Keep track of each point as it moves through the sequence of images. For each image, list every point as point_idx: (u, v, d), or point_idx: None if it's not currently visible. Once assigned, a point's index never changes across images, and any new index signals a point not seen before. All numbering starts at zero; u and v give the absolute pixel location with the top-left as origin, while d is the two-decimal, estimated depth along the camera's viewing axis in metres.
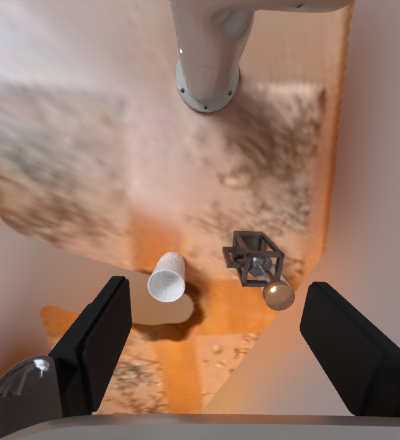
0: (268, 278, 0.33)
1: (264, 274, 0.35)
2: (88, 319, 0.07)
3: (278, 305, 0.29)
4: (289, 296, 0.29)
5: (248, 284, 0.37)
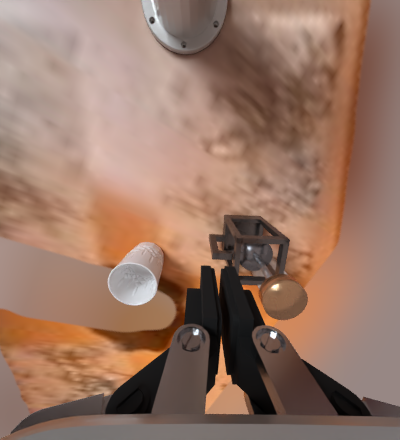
0: (267, 272, 0.23)
1: (262, 267, 0.25)
2: (209, 298, 0.08)
3: (282, 312, 0.19)
4: (299, 298, 0.19)
5: (240, 281, 0.28)
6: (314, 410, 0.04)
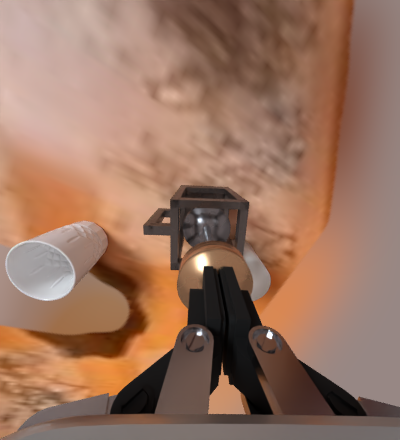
0: None
1: (205, 240, 0.17)
2: (212, 298, 0.08)
3: None
4: (239, 279, 0.11)
5: None
6: (309, 411, 0.04)
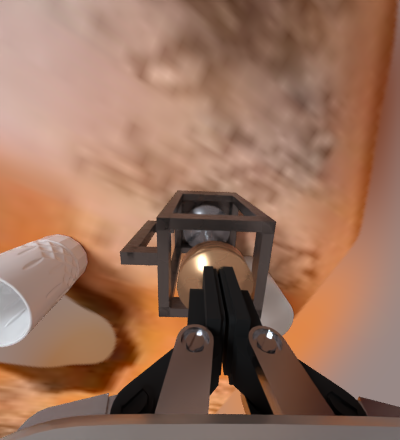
0: None
1: (205, 241, 0.17)
2: (212, 298, 0.08)
3: None
4: (239, 280, 0.11)
5: (175, 311, 0.13)
6: (309, 411, 0.04)
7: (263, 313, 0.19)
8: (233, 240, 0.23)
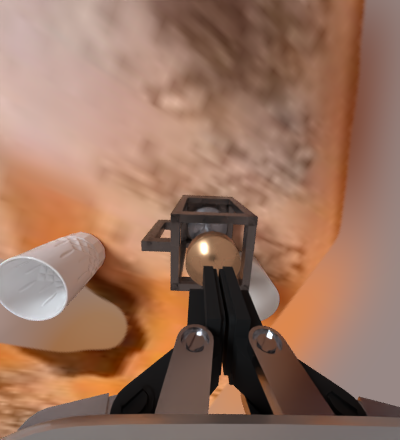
0: None
1: None
2: (212, 298, 0.08)
3: None
4: (230, 258, 0.15)
5: (183, 286, 0.17)
6: (309, 411, 0.04)
7: (254, 296, 0.23)
8: (230, 237, 0.27)
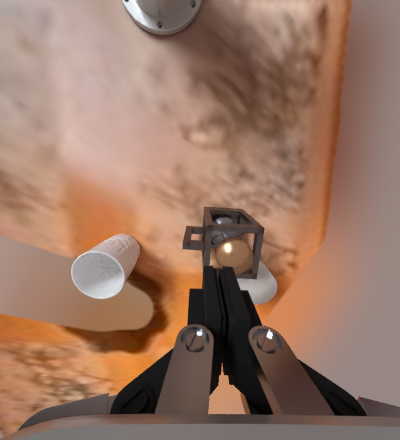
0: None
1: (225, 238, 0.29)
2: (212, 298, 0.08)
3: (233, 267, 0.23)
4: (246, 255, 0.23)
5: None
6: (309, 411, 0.04)
7: (258, 284, 0.31)
8: None
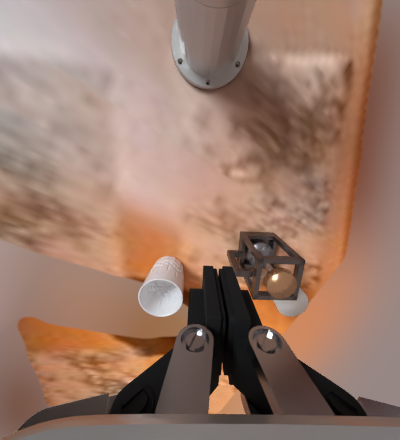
0: (270, 267, 0.33)
1: (265, 264, 0.34)
2: (212, 298, 0.08)
3: (280, 293, 0.29)
4: (291, 283, 0.28)
5: (260, 297, 0.31)
6: (309, 411, 0.04)
7: (292, 300, 0.36)
8: None
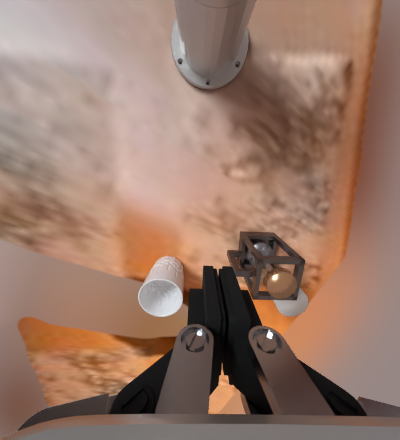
0: (270, 267, 0.33)
1: (265, 264, 0.34)
2: (212, 298, 0.08)
3: (280, 293, 0.29)
4: (291, 283, 0.28)
5: (260, 297, 0.31)
6: (309, 411, 0.04)
7: (292, 300, 0.36)
8: None
